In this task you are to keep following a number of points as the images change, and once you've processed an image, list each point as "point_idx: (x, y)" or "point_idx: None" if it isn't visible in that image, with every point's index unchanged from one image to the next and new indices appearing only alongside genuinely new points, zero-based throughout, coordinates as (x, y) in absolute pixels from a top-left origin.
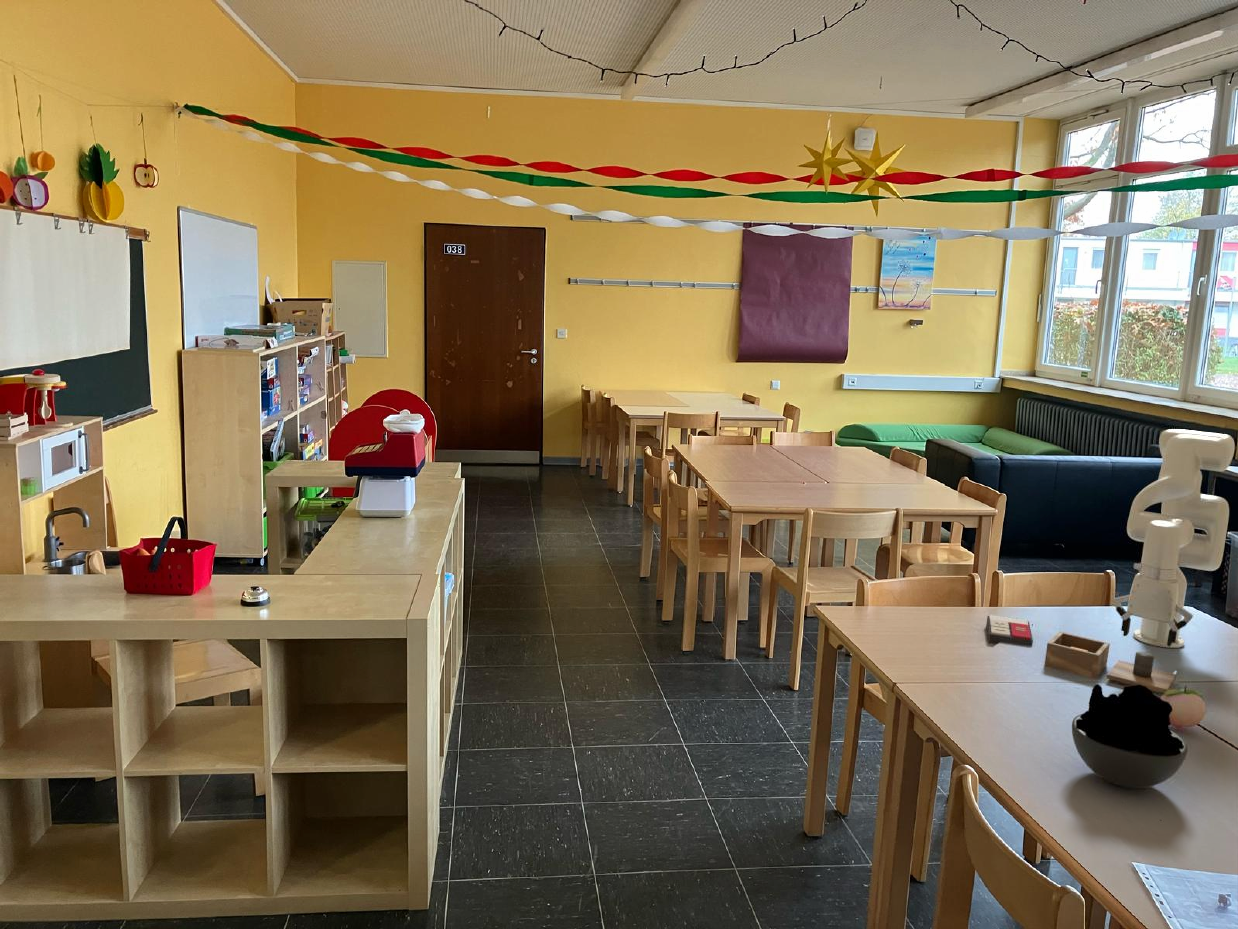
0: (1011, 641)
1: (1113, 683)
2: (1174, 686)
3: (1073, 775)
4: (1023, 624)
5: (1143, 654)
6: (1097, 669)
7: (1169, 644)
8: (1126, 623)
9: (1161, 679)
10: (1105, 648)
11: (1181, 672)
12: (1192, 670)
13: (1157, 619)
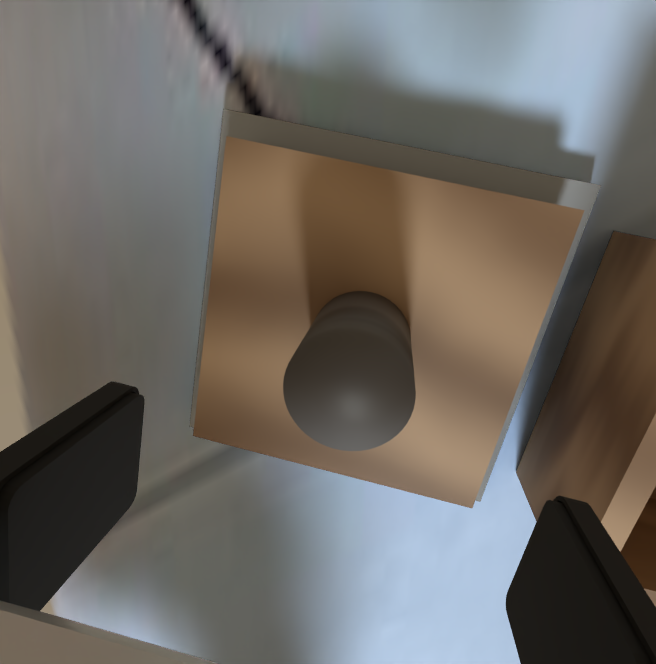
0: None
1: None
2: None
3: None
4: None
5: (358, 399)
6: (644, 265)
7: (111, 390)
8: (652, 638)
9: (258, 311)
10: (618, 481)
11: (199, 577)
12: (165, 613)
13: (47, 650)
